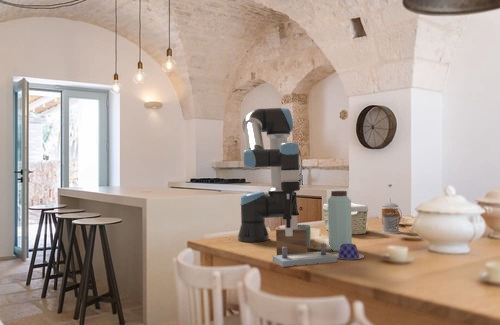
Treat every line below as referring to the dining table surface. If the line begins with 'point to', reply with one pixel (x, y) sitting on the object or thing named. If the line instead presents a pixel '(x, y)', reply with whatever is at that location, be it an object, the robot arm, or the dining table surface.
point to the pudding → (348, 252)
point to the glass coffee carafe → (387, 210)
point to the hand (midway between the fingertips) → (291, 233)
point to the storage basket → (353, 218)
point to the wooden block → (292, 241)
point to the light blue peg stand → (304, 257)
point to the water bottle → (339, 220)
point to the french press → (391, 219)
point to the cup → (307, 233)
